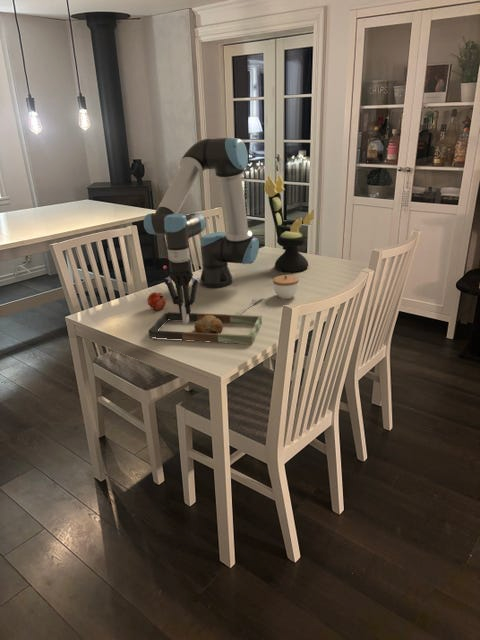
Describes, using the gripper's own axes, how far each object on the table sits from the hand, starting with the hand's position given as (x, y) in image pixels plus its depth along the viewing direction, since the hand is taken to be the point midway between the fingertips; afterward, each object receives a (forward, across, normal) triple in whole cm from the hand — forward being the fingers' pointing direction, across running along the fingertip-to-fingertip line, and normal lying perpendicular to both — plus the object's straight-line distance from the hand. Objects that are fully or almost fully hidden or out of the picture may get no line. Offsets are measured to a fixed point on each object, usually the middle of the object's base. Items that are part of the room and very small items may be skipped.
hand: (186, 321), depth 176 cm
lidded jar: (+4, +31, +38) cm, 50 cm away
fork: (+4, +18, +25) cm, 32 cm away
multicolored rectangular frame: (+3, +8, 0) cm, 8 cm away
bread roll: (+4, +8, 0) cm, 9 cm away
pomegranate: (+4, -20, +19) cm, 27 cm away
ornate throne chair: (+4, +26, +78) cm, 82 cm away
